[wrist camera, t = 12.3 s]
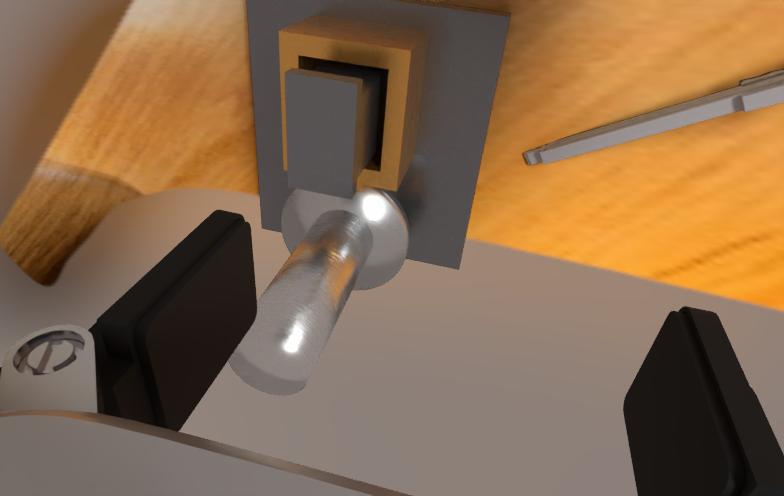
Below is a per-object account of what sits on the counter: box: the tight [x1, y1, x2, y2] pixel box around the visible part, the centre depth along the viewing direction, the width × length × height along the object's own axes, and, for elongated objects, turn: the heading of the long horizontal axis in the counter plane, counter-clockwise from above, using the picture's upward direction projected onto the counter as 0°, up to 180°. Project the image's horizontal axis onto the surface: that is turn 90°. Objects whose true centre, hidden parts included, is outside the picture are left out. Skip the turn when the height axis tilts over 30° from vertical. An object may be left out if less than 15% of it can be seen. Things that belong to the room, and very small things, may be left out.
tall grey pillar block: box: [285, 60, 389, 200], centre depth 33 cm, size 7×4×10 cm, turn 175°
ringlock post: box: [228, 0, 511, 395], centre depth 33 cm, size 21×18×20 cm
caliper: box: [524, 69, 784, 165], centre depth 32 cm, size 20×1×6 cm, turn 118°
